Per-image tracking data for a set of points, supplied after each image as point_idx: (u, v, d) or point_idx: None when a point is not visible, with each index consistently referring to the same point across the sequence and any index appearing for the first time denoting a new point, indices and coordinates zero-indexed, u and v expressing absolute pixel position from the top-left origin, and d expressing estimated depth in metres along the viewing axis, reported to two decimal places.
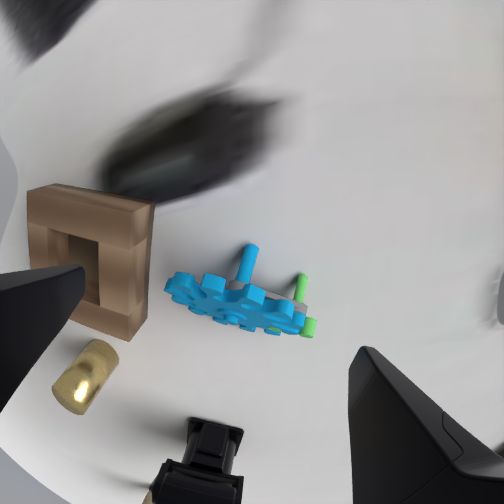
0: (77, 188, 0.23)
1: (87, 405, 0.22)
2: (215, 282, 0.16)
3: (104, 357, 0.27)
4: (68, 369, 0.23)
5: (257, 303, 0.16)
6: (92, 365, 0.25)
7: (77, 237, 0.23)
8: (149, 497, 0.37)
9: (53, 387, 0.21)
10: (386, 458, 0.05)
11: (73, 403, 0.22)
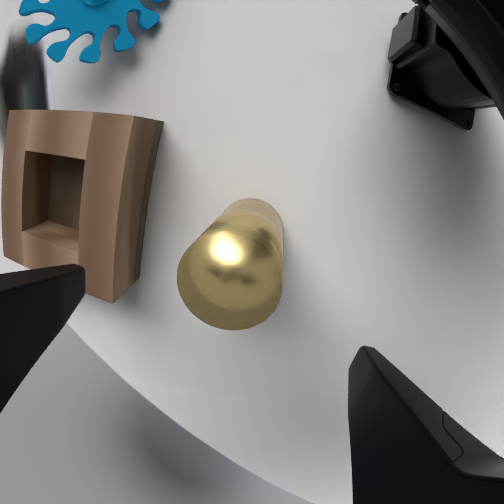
0: None
1: (245, 232, 0.11)
2: None
3: (225, 210, 0.17)
4: None
5: None
6: None
7: (62, 209, 0.18)
8: None
9: (196, 312, 0.12)
10: (386, 458, 0.05)
11: (232, 270, 0.11)
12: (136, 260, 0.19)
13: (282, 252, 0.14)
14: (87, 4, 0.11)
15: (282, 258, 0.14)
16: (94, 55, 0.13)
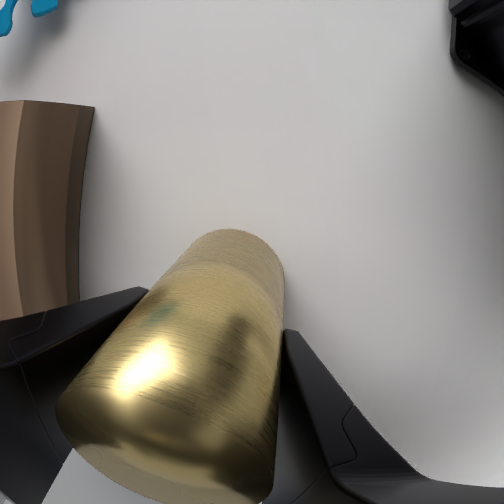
0: None
1: (178, 379, 0.04)
2: None
3: (182, 255, 0.09)
4: None
5: None
6: None
7: None
8: None
9: (113, 478, 0.04)
10: (284, 451, 0.05)
11: (158, 454, 0.04)
12: None
13: (281, 357, 0.07)
14: None
15: (280, 376, 0.06)
16: (2, 24, 0.06)
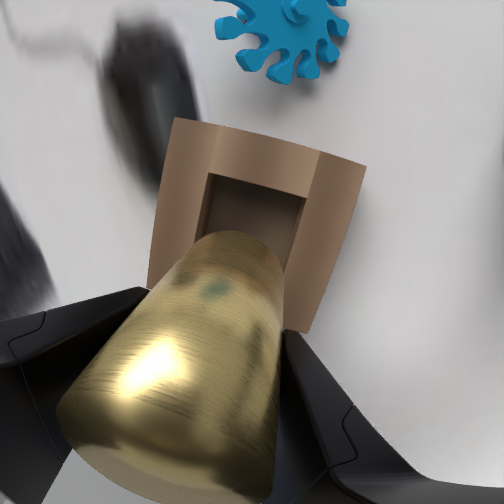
0: None
1: (178, 382, 0.04)
2: None
3: (182, 257, 0.09)
4: None
5: None
6: None
7: None
8: None
9: (113, 480, 0.04)
10: (284, 451, 0.05)
11: (158, 457, 0.04)
12: None
13: (280, 359, 0.07)
14: (288, 18, 0.12)
15: None
16: (287, 77, 0.15)
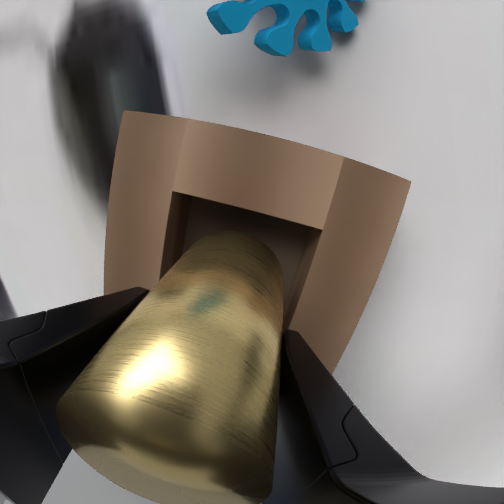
0: None
1: (177, 382, 0.04)
2: None
3: (181, 257, 0.09)
4: None
5: None
6: None
7: None
8: None
9: (113, 480, 0.04)
10: (284, 451, 0.05)
11: (158, 457, 0.04)
12: None
13: (280, 359, 0.07)
14: None
15: (279, 378, 0.06)
16: (285, 45, 0.09)
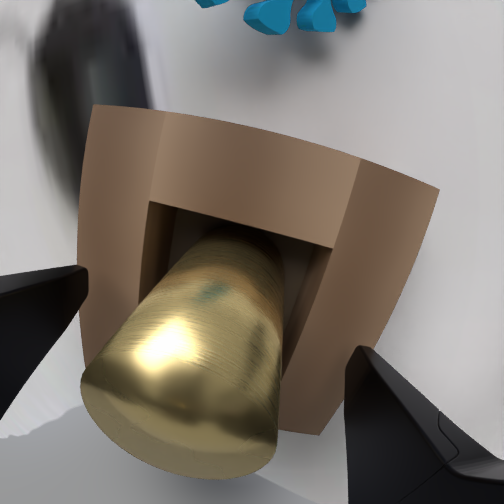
0: None
1: (196, 342, 0.05)
2: None
3: (191, 247, 0.10)
4: None
5: None
6: None
7: None
8: None
9: (128, 450, 0.05)
10: (381, 458, 0.05)
11: (175, 415, 0.05)
12: None
13: (282, 336, 0.08)
14: None
15: (281, 352, 0.07)
16: (280, 21, 0.07)
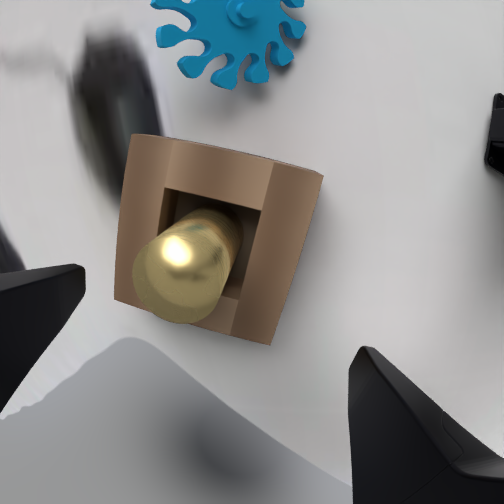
0: None
1: (187, 236, 0.12)
2: None
3: None
4: None
5: None
6: None
7: None
8: None
9: (150, 307, 0.13)
10: (386, 458, 0.05)
11: (177, 270, 0.12)
12: None
13: (232, 253, 0.15)
14: (233, 22, 0.13)
15: (230, 259, 0.15)
16: (230, 82, 0.15)
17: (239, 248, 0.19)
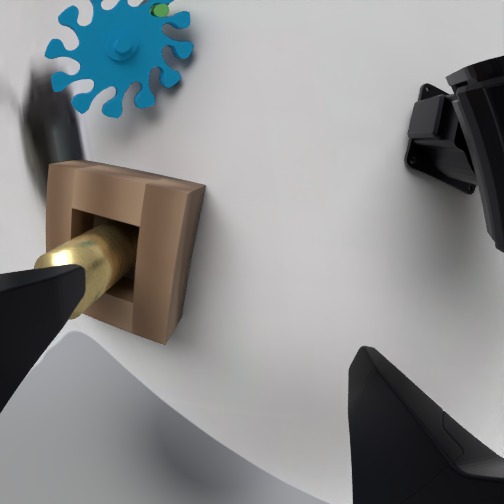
0: None
1: (63, 252, 0.14)
2: (48, 45, 0.11)
3: None
4: None
5: (69, 9, 0.10)
6: None
7: None
8: None
9: None
10: (386, 458, 0.05)
11: None
12: (181, 304, 0.23)
13: (111, 264, 0.17)
14: (112, 58, 0.14)
15: (107, 269, 0.16)
16: (116, 111, 0.16)
17: None
